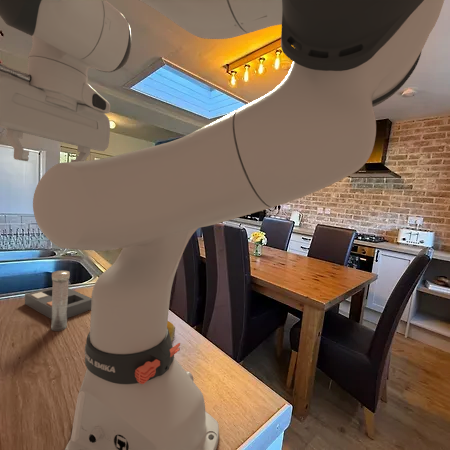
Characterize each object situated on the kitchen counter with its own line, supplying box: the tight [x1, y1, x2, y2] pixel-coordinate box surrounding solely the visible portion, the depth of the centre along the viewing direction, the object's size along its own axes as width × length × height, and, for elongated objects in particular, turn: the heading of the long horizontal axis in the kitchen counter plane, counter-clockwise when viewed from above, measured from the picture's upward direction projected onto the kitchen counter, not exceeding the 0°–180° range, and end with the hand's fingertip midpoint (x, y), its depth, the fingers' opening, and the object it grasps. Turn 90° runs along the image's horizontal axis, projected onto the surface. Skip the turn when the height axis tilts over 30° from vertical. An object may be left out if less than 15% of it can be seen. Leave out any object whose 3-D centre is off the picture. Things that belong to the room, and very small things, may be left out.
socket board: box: [24, 286, 92, 320], centre depth 74 cm, size 16×10×3 cm, turn 61°
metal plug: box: [50, 270, 71, 332], centre depth 63 cm, size 4×4×14 cm
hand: (51, 165), depth 48 cm, fingers open, 8 cm apart
